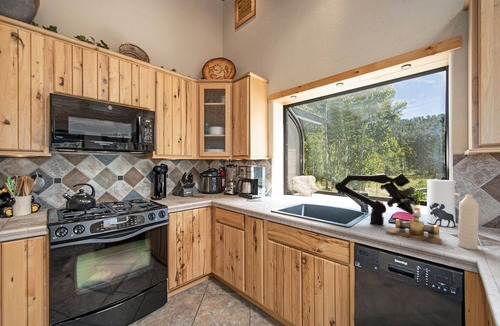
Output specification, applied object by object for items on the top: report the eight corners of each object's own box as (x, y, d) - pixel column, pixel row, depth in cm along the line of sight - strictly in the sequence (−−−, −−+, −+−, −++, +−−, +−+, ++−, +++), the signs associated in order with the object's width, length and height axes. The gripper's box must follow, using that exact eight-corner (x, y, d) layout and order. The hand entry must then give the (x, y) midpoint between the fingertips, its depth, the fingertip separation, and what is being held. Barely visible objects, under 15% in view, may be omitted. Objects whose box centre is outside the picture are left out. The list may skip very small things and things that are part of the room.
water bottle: (475, 246, 101) (477, 194, 100) (479, 251, 96) (481, 196, 95) (450, 241, 106) (452, 192, 105) (452, 246, 101) (454, 194, 100)
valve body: (395, 231, 116) (395, 215, 116) (396, 228, 121) (396, 213, 121) (439, 239, 105) (439, 221, 105) (438, 236, 110) (438, 218, 110)
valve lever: (420, 218, 110) (420, 212, 110) (412, 217, 113) (412, 211, 112) (420, 213, 120) (420, 208, 120) (413, 212, 122) (413, 207, 122)
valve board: (385, 233, 117) (386, 231, 117) (388, 228, 126) (388, 226, 125) (440, 244, 103) (440, 241, 103) (439, 238, 111) (439, 235, 111)
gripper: (392, 183, 120) (413, 207, 110) (414, 182, 126) (435, 204, 116) (379, 195, 127) (397, 218, 117) (400, 193, 134) (419, 215, 124)
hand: (412, 214), depth 118 cm, fingers closed
